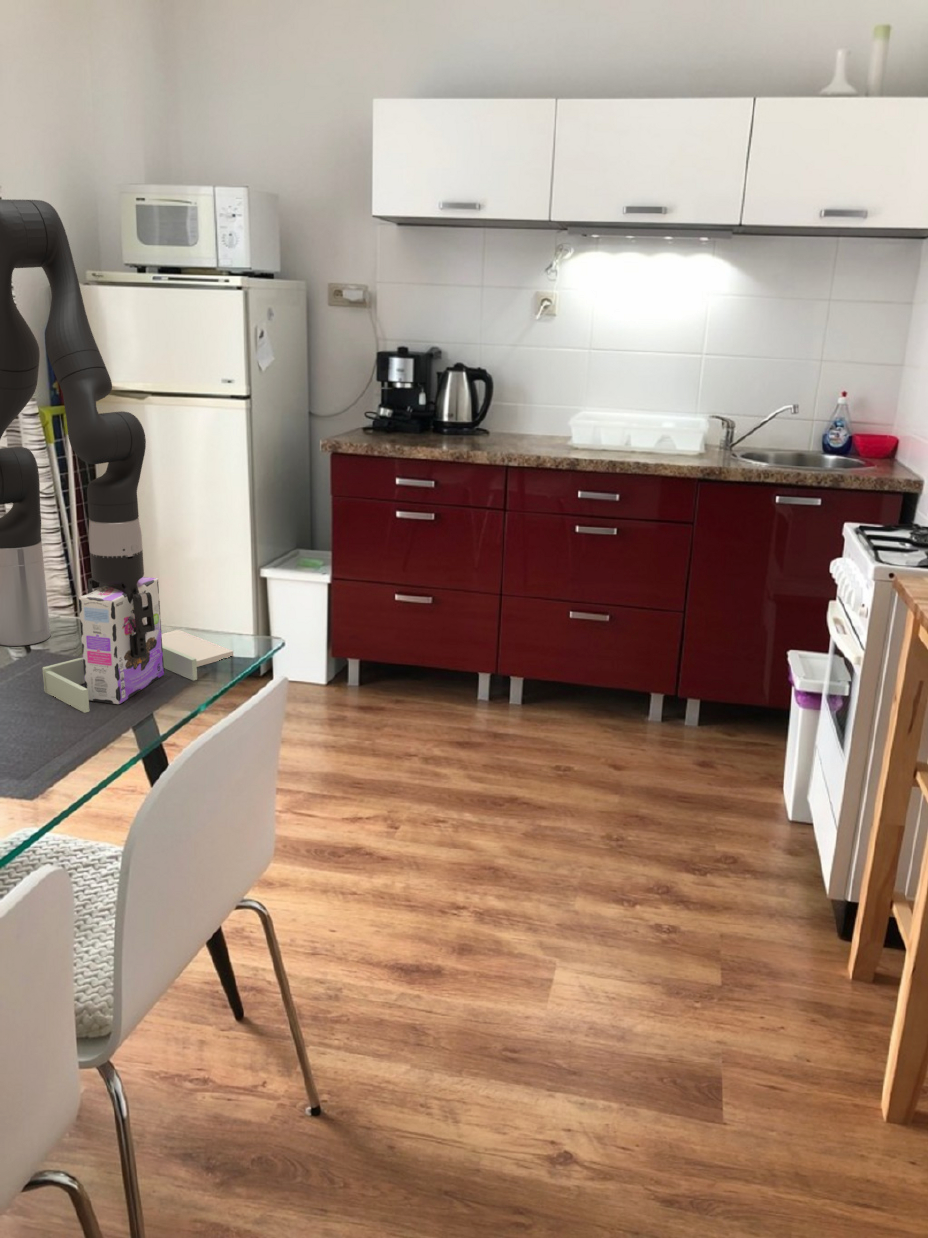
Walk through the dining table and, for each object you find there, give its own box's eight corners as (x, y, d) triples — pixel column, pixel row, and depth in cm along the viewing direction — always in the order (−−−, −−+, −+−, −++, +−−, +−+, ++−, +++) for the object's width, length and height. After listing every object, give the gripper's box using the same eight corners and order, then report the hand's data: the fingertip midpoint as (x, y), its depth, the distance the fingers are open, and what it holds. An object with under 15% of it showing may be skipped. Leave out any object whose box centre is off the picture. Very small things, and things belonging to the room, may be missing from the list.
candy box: (119, 706, 156) (112, 600, 151) (84, 701, 157) (75, 596, 152) (165, 674, 169) (160, 576, 164) (132, 670, 170) (126, 573, 165)
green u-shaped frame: (44, 692, 160) (42, 667, 159) (156, 661, 174) (154, 638, 173) (84, 712, 153) (82, 687, 152) (197, 679, 167) (196, 655, 166)
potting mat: (129, 647, 180) (128, 642, 180) (178, 634, 188) (178, 629, 187) (183, 670, 170) (183, 665, 170) (233, 656, 178) (233, 651, 177)
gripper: (68, 543, 158) (76, 645, 163) (119, 561, 149) (127, 667, 154) (112, 536, 163) (120, 634, 168) (165, 552, 154) (171, 655, 159)
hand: (123, 650), depth 161 cm, fingers open, 8 cm apart
